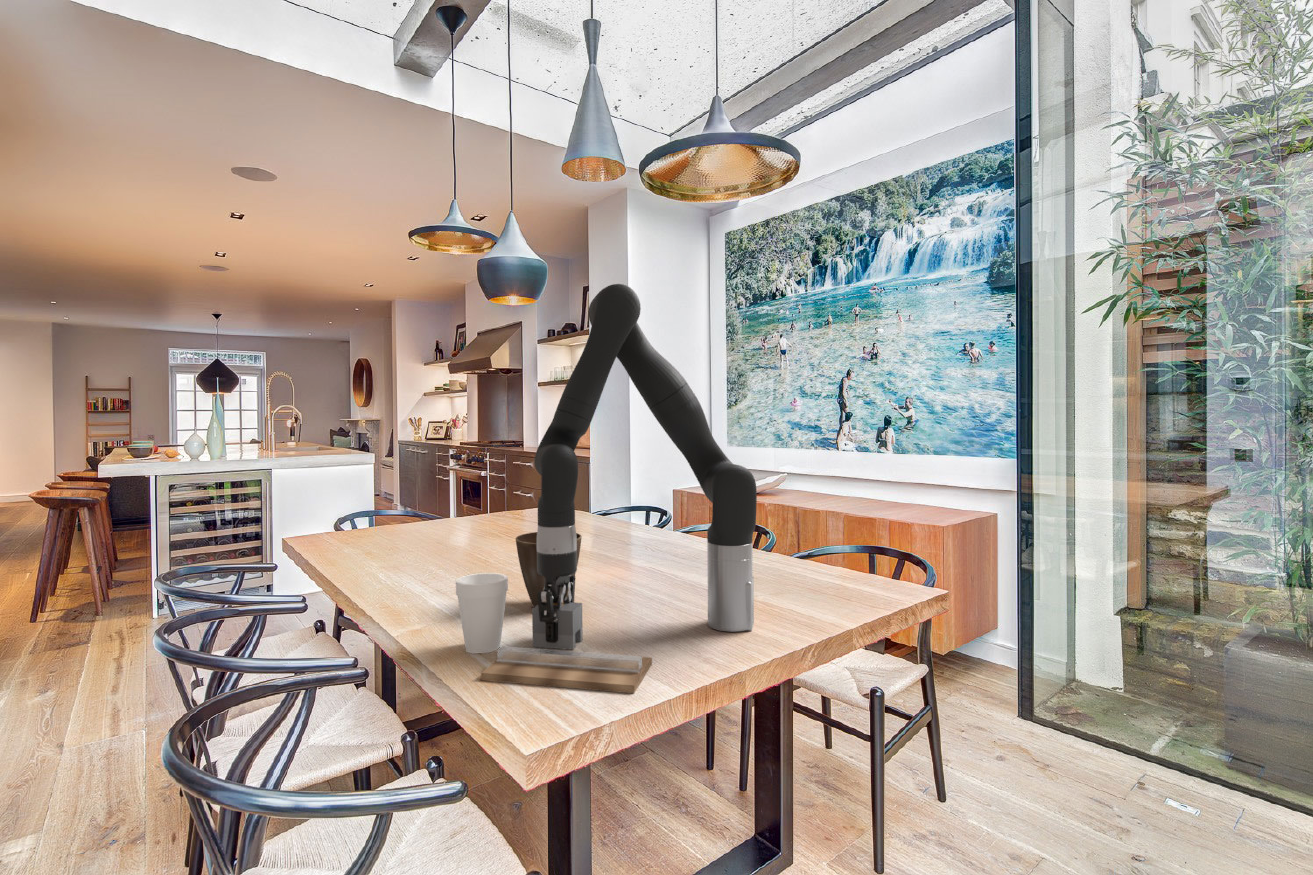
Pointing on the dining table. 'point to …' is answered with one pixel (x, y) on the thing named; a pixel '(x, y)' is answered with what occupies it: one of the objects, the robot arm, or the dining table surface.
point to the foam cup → (482, 610)
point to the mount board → (567, 676)
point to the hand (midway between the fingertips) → (557, 636)
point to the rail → (570, 659)
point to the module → (560, 627)
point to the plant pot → (533, 563)
